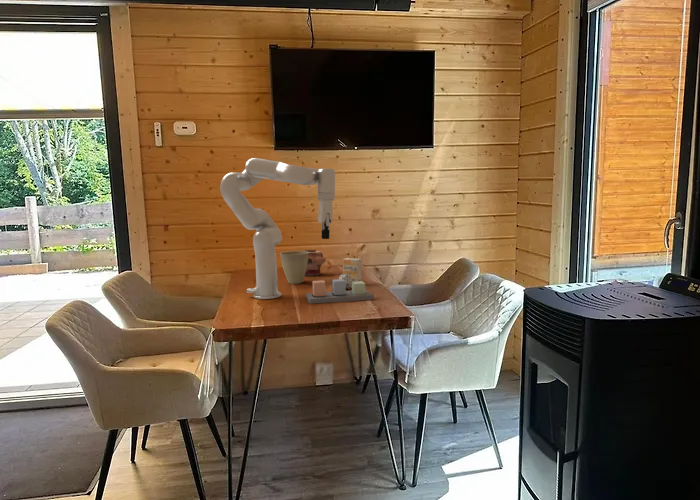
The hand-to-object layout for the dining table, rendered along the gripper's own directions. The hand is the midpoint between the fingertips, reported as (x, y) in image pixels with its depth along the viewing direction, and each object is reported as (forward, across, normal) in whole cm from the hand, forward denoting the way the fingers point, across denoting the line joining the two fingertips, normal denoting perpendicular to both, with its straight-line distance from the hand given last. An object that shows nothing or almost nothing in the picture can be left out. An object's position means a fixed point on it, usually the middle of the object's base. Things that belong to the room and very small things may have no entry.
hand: (325, 238), depth 217 cm
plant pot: (+28, -41, -8) cm, 50 cm away
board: (+27, +3, +6) cm, 28 cm away
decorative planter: (+28, -62, +2) cm, 68 cm away
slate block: (+24, +2, +6) cm, 25 cm away
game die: (+27, -16, +14) cm, 34 cm away
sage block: (+26, +3, +15) cm, 30 cm away
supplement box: (+27, -28, +20) cm, 44 cm away
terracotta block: (+25, +2, -3) cm, 25 cm away
